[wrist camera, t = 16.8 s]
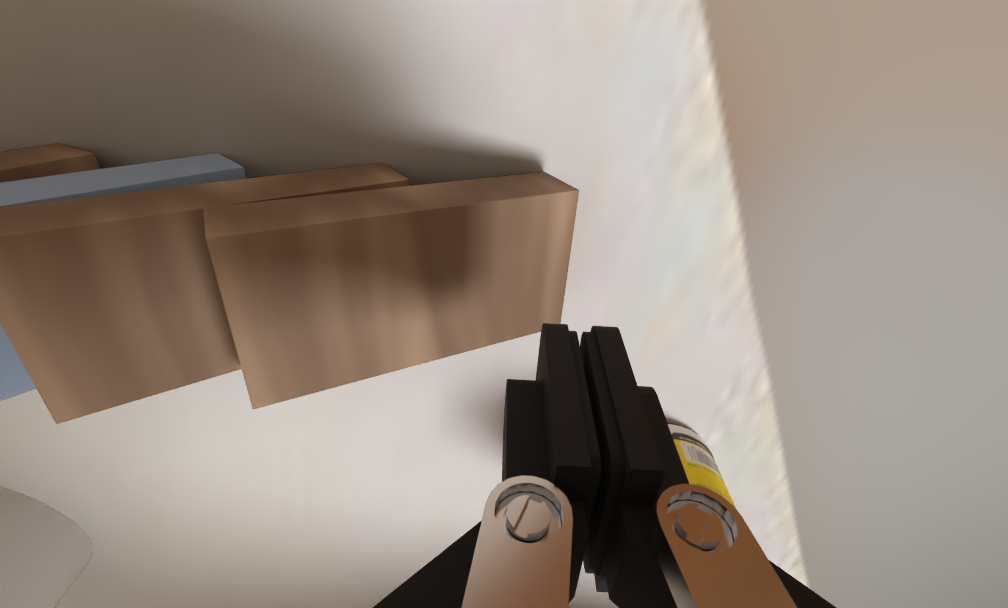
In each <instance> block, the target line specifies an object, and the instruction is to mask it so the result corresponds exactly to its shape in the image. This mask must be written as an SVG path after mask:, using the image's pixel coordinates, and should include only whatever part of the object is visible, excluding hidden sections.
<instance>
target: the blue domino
mask: <svg viewBox="0 0 1008 608" xmlns="http://www.w3.org/2000/svg"><path fill="white" fill-rule="evenodd" d="M238 179H246V175H245V170H244V167H243V166H241V165H239V164H237V163H235V162H234V161H232V160H230V159H228V158H226V157H224V156H222V155H220V154H219V153H213V154H206V155H198V156H191V157H184V158H177V159H169V160H162V161H155V162H148V163H140V164H133V165H126V166H119V167H111V168H104V169H97V170H90V171H82V172H75V173H68V174H61V175H53V176H46V177H39V178H32V179H24V180H17V181H10V182H3V183H0V207H7V206H15V205H24V204H32V203H41V202H50V201H58V200H67V199H75V198H84V197H93V196H101V195H110V194H118V193H127V192H135V191H144V190H153V189H161V188H170V187H178V186H187V185H195V184H204V183H213V182H221V181H230V180H238ZM33 389H36V387H35V385H34V383H33V381H32V379H31V378H30V376H29V374H28V372H27V371H26V369H25V367H24V365H23V363H22V362H21V360H20V358H19V356H18V355H17V353H16V351H15V349H14V347H13V346H12V344H11V342H10V340H9V338H8V337H7V335H6V333H5V331H4V330H3V328H2V326H1V324H0V401H2V400H4V399H7V398H10V397H13V396H16V395H19V394H21V393H24V392H27V391H30V390H33Z"/></svg>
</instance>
